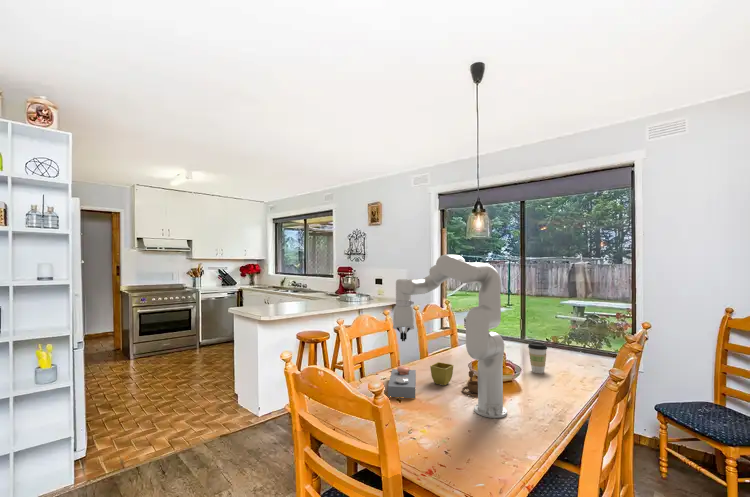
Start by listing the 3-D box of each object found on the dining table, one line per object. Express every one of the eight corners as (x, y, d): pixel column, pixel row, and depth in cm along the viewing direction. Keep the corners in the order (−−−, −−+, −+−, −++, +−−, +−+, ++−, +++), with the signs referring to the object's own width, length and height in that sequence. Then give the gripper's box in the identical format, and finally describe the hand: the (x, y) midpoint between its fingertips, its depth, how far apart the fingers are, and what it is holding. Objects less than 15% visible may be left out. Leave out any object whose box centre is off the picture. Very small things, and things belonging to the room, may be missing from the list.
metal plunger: (408, 395, 158) (408, 381, 159) (395, 395, 159) (395, 380, 159) (408, 390, 164) (408, 377, 165) (396, 390, 165) (396, 376, 165)
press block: (415, 399, 155) (415, 387, 155) (387, 397, 156) (387, 386, 157) (415, 379, 181) (415, 370, 181) (392, 379, 182) (392, 369, 183)
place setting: (451, 393, 164) (451, 380, 164) (468, 382, 180) (468, 370, 180) (489, 402, 153) (489, 388, 154) (503, 389, 169) (503, 376, 170)
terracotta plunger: (409, 383, 172) (409, 369, 173) (397, 382, 173) (397, 369, 173) (409, 379, 178) (409, 366, 179) (397, 378, 179) (397, 366, 179)
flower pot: (446, 388, 169) (446, 368, 170) (429, 384, 174) (429, 365, 175) (454, 383, 176) (453, 364, 177) (438, 379, 181) (438, 361, 182)
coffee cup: (524, 370, 198) (523, 343, 199) (536, 368, 202) (536, 341, 203) (539, 375, 189) (538, 346, 190) (551, 372, 193) (551, 345, 194)
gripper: (418, 303, 180) (418, 339, 179) (389, 302, 182) (389, 339, 181) (418, 304, 173) (418, 342, 172) (387, 304, 175) (387, 342, 174)
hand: (403, 340), depth 177 cm, fingers closed
